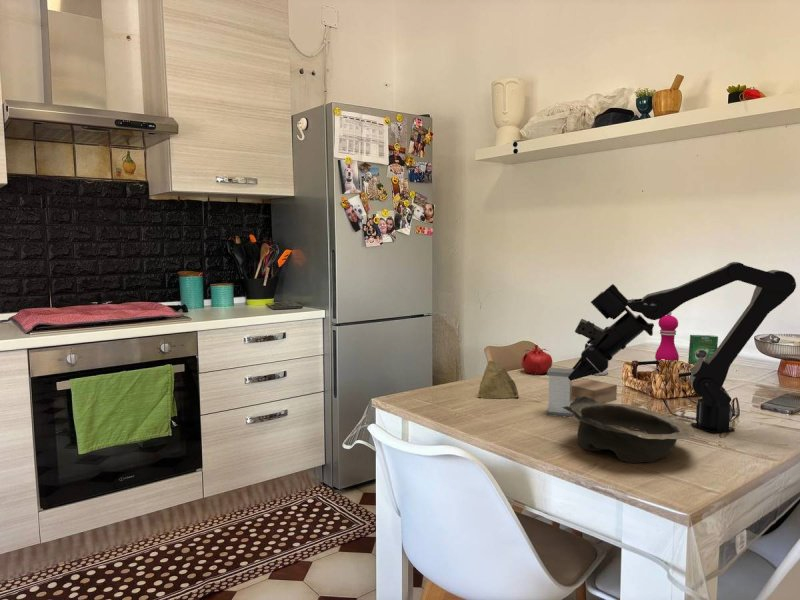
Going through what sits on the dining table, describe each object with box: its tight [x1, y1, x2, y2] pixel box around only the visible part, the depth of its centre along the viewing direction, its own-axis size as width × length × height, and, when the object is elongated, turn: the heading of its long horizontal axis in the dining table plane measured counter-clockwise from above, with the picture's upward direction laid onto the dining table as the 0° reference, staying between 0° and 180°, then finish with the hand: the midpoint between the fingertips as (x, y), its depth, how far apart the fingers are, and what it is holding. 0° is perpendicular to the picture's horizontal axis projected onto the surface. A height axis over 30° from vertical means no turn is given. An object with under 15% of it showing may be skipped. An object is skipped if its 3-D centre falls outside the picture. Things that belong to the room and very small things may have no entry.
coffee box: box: [687, 334, 719, 365], centre depth 190 cm, size 8×3×13 cm, turn 90°
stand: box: [571, 378, 618, 404], centre depth 162 cm, size 10×10×4 cm
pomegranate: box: [521, 344, 553, 375], centre depth 195 cm, size 10×10×9 cm
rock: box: [477, 360, 520, 399], centre depth 164 cm, size 11×9×10 cm
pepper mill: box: [654, 312, 680, 361], centre depth 198 cm, size 7×7×20 cm
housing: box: [545, 367, 574, 418], centre depth 148 cm, size 6×5×11 cm
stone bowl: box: [563, 396, 695, 464], centre depth 122 cm, size 25×25×9 cm
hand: (571, 375), depth 146 cm, fingers open, 9 cm apart
